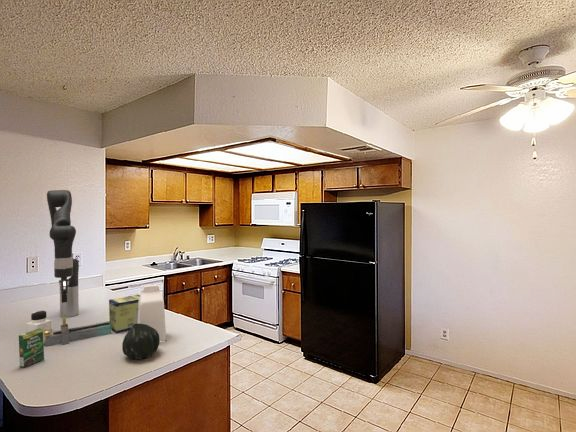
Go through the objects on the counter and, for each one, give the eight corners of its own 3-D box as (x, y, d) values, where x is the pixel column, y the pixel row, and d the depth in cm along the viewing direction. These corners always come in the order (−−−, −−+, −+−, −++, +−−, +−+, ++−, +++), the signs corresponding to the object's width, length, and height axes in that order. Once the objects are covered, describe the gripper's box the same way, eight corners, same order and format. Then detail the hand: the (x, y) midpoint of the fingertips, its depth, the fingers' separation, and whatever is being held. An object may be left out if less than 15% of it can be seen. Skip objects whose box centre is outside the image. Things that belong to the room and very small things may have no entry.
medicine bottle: (51, 334, 169) (51, 310, 168) (36, 339, 162) (36, 314, 162) (41, 332, 171) (41, 308, 171) (26, 337, 164) (26, 313, 164)
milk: (138, 346, 154) (138, 289, 154) (137, 337, 165) (136, 284, 164) (166, 341, 160) (165, 286, 159) (163, 333, 170) (162, 282, 169)
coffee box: (23, 368, 133) (22, 335, 132) (18, 367, 134) (18, 334, 133) (44, 359, 140) (44, 328, 140) (40, 358, 141) (39, 327, 141)
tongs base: (41, 340, 160) (40, 328, 160) (108, 328, 177) (108, 316, 177) (40, 349, 151) (40, 335, 150) (112, 335, 167) (112, 322, 167)
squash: (170, 335, 152) (147, 311, 151) (158, 351, 137) (133, 324, 136) (147, 356, 152) (124, 332, 151) (133, 374, 138) (107, 347, 137)
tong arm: (53, 339, 160) (53, 331, 160) (109, 328, 175) (109, 321, 175) (53, 341, 159) (53, 332, 159) (110, 330, 173) (110, 322, 173)
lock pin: (62, 334, 164) (61, 315, 164) (66, 334, 165) (66, 315, 165) (62, 335, 163) (62, 316, 162) (66, 335, 164) (66, 316, 164)
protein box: (108, 329, 176) (108, 299, 176) (138, 321, 187) (138, 293, 187) (116, 334, 169) (116, 303, 168) (147, 326, 180) (146, 297, 180)
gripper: (53, 265, 166) (54, 300, 167) (54, 269, 155) (55, 306, 156) (71, 263, 171) (72, 297, 171) (73, 268, 160) (74, 304, 161)
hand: (64, 302), depth 164 cm, fingers closed
